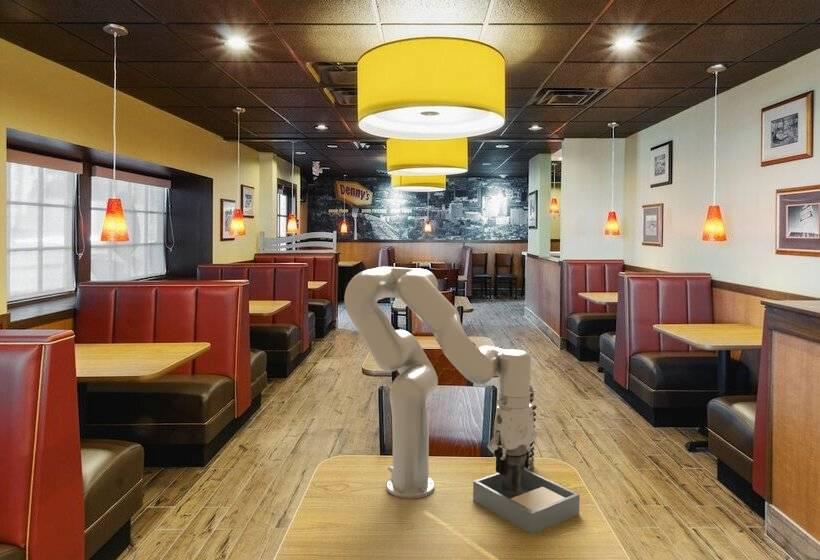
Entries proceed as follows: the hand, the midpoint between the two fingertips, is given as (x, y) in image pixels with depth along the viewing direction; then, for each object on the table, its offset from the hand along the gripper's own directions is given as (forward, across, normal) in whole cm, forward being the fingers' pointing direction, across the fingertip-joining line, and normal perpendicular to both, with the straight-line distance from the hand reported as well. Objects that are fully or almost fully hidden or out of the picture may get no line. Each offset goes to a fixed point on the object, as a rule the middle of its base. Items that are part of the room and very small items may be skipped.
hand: (512, 469), depth 150 cm
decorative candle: (+9, +16, +14) cm, 23 cm away
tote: (+9, 0, -4) cm, 10 cm away
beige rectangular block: (+8, 0, -9) cm, 12 cm away
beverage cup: (+7, 0, 0) cm, 7 cm away
